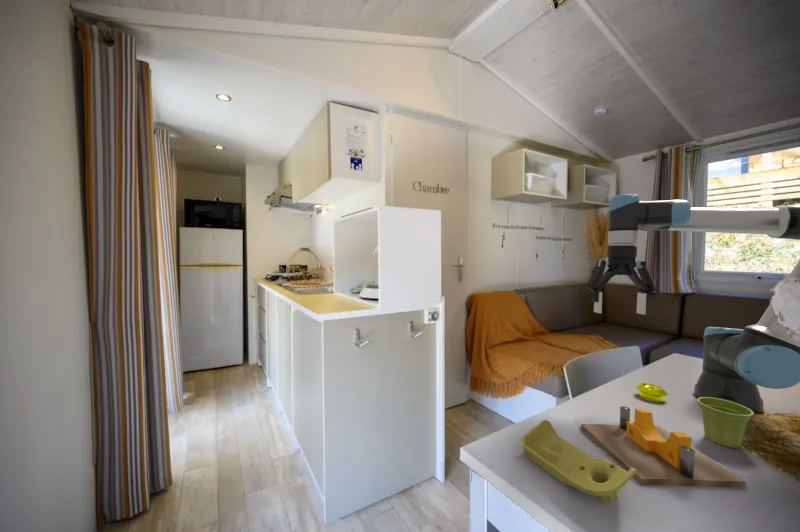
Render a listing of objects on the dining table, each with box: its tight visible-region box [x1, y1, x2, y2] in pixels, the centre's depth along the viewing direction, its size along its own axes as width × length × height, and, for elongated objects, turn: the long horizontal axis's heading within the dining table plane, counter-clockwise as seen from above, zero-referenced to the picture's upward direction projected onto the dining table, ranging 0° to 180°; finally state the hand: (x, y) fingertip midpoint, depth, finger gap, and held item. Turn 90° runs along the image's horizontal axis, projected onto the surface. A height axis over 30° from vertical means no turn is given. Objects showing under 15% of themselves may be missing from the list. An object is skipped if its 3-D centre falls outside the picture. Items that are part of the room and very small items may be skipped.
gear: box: [635, 382, 669, 403], centre depth 100 cm, size 8×4×8 cm
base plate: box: [580, 423, 747, 488], centre depth 70 cm, size 20×20×1 cm
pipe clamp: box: [626, 408, 692, 469], centre depth 69 cm, size 12×4×6 cm, turn 179°
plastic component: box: [520, 419, 637, 504], centre depth 62 cm, size 20×8×10 cm
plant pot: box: [697, 397, 755, 449], centre depth 76 cm, size 9×9×9 cm
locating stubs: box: [619, 405, 695, 478], centre depth 70 cm, size 2×19×5 cm, turn 0°
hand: (619, 313), depth 98 cm, fingers open, 13 cm apart
